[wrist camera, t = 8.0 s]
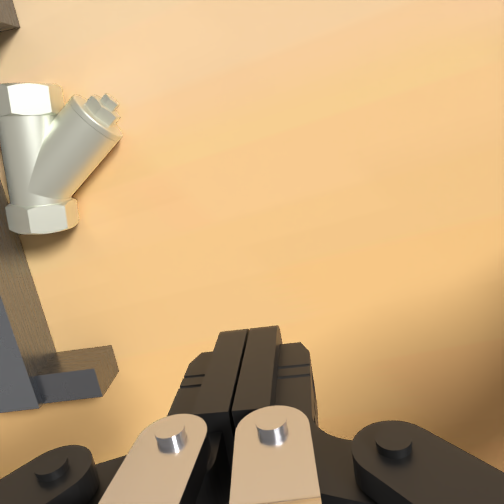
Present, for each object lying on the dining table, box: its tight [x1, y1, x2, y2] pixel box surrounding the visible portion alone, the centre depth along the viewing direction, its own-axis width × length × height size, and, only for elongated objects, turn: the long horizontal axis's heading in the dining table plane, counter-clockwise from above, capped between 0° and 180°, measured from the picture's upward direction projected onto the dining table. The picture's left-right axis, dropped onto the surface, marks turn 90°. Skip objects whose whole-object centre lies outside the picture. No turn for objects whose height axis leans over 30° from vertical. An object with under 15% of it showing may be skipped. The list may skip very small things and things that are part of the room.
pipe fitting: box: [0, 83, 123, 235], centre depth 27 cm, size 8×4×7 cm
